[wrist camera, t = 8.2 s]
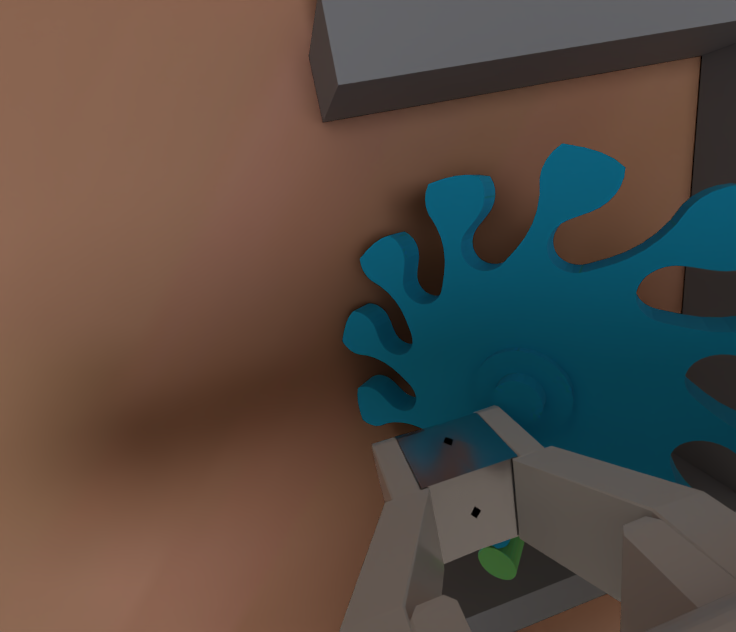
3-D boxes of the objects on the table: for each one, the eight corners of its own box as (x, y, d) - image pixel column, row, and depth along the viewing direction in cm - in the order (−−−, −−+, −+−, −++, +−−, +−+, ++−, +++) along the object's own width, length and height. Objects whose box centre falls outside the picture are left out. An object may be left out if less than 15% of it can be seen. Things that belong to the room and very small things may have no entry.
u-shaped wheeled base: (753, -59, 11) (920, -156, 8) (695, 489, 17) (776, 544, 14) (296, -2, 9) (301, -104, 6) (422, 593, 15) (454, 681, 12)
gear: (334, 134, 8) (1200, 160, 3) (438, 149, 13) (864, 168, 8) (326, 493, 13) (697, 728, 8) (406, 407, 17) (669, 520, 12)
